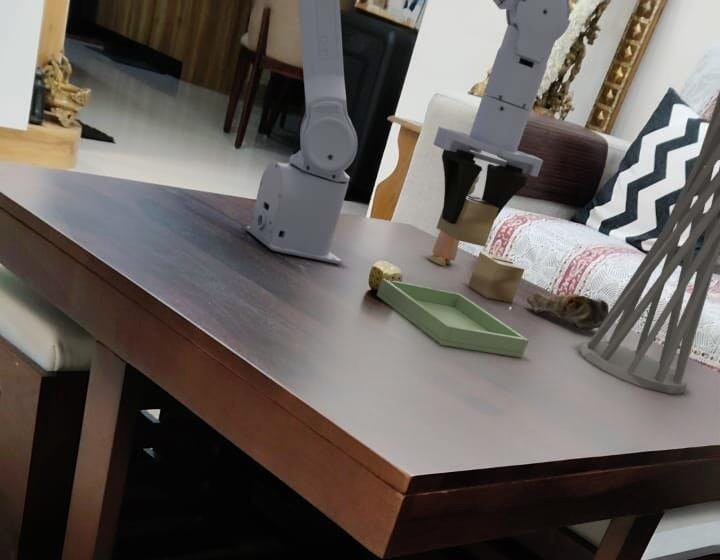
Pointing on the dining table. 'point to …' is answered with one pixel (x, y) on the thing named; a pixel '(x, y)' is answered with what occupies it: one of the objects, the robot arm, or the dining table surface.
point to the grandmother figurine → (446, 244)
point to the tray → (452, 319)
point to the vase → (636, 362)
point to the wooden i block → (496, 277)
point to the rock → (571, 309)
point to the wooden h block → (471, 222)
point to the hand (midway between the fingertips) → (464, 225)
